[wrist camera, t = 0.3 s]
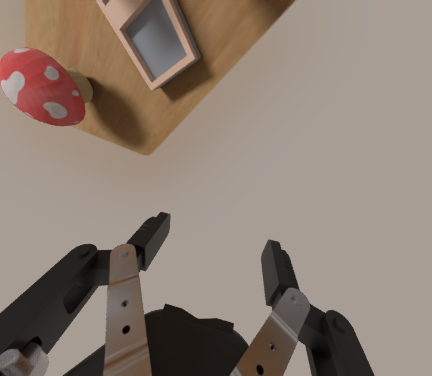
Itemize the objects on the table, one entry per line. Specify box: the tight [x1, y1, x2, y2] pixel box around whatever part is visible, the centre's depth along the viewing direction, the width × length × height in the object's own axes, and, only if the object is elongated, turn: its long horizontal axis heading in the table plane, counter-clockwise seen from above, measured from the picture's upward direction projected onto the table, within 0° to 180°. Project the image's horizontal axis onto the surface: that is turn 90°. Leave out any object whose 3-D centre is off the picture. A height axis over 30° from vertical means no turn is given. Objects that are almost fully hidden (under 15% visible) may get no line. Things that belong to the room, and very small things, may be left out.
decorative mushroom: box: [0, 47, 93, 126], centre depth 33 cm, size 13×13×15 cm
